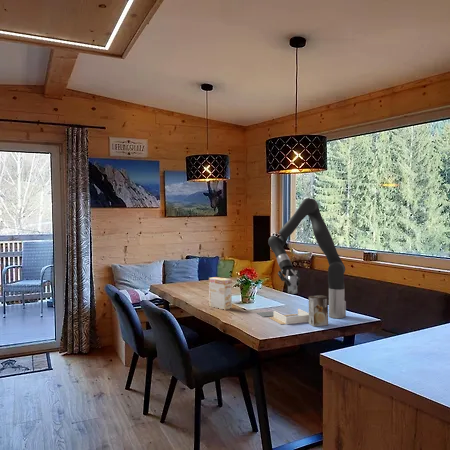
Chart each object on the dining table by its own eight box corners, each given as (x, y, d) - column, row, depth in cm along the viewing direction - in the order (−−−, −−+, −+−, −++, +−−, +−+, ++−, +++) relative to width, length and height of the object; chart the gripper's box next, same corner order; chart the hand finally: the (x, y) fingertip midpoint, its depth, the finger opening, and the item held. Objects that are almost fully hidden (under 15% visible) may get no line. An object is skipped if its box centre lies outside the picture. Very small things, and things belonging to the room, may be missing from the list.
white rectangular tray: (301, 313, 269) (301, 307, 269) (317, 321, 252) (317, 314, 252) (267, 317, 262) (267, 310, 261) (281, 324, 244) (281, 317, 244)
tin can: (294, 291, 259) (294, 275, 259) (299, 293, 254) (298, 276, 253) (286, 292, 257) (286, 275, 257) (290, 294, 252) (290, 276, 252)
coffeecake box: (232, 308, 285) (232, 279, 284) (224, 310, 280) (224, 280, 279) (216, 304, 296) (216, 276, 295) (208, 306, 291) (208, 277, 290)
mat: (271, 312, 274) (271, 311, 274) (278, 315, 265) (278, 315, 265) (256, 313, 271) (256, 312, 271) (263, 317, 261) (263, 316, 261)
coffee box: (322, 322, 248) (323, 294, 248) (328, 325, 242) (328, 297, 242) (308, 323, 246) (308, 295, 245) (313, 326, 240) (313, 298, 239)
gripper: (275, 259, 259) (285, 282, 249) (297, 258, 264) (307, 280, 253) (272, 267, 265) (280, 290, 254) (292, 266, 269) (302, 288, 259)
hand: (294, 285), depth 254 cm, fingers closed on tin can, 5 cm apart
